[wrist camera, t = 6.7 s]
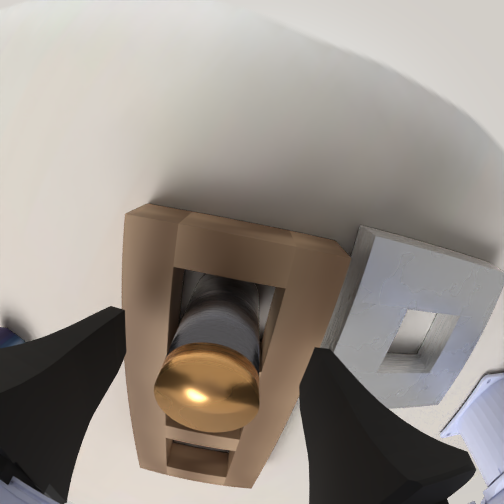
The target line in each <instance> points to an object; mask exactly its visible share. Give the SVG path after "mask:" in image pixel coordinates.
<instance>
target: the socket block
mask: <svg viewBox="0 0 504 504" xmlns="http://www.w3.org/2000/svg"><path fill="white" fill-rule="evenodd" d="M503 286H504V271H503V270H501V269H499V268H498V267H496V266H494V265H493V264H491V263H489V262H487V261H484V260H481V259H478V258H475V257H471V256H468V255H465V254H462V253H459V252H455V251H452V250H449V249H446V248H442V247H439V246H436V245H432V244H429V243H425V242H422V241H418V240H415V239H411V238H408V237H404V236H400V235H397V234H393V233H389V232H386V231H382V230H378V229H374V228H370V227H366V226H362V225H360V227H359V230H358V234H357V237H356V241H355V244H354V248H353V251H352V254H351V261H350V264H349V267H348V270H347V273H346V276H345V279H344V282H343V285H342V288H341V291H340V294H339V297H338V300H337V303H336V306H335V308H334V311H333V314H332V317H331V319H330V322H329V325H328V327H327V330H326V333H325V335H324V338H323V340H322V343H321V346H320V348H326V349H330V350H331V351H332V352H333V353H334V354H335V355H336V356H337V357H338V358H339V359H340V360H341V362H342V363H343V364H344V365H345V366H346V367H347V368H348V370H349V371H350V372H351V373H352V374H353V375H354V376H355V377H356V378H357V379H358V381H359V382H360V383H361V384H362V385H363V386H364V387H365V388H366V389H367V390H368V391H369V392H370V393H371V394H372V395H373V396H374V397H375V398H376V399H378V400H379V401H380V402H381V403H382V404H383V405H384V406H385V407H387V408H388V409H389V408H406V407H419V406H429V405H438V404H439V403H440V401H441V400H442V398H443V397H444V396H445V394H446V393H447V391H448V390H449V388H450V387H451V385H452V384H453V382H454V381H455V379H456V378H457V376H458V375H459V373H460V371H461V370H462V368H463V366H464V365H465V363H466V361H467V360H468V358H469V356H470V355H471V353H472V351H473V349H474V347H475V346H476V344H477V342H478V340H479V338H480V336H481V334H482V332H483V330H484V328H485V326H486V324H487V322H488V320H489V318H490V316H491V314H492V312H493V310H494V307H495V305H496V303H497V300H498V298H499V296H500V293H501V291H502V288H503ZM407 309H411V310H418V311H426V312H433V313H437V315H436V317H435V319H434V321H433V323H432V325H431V327H430V330H429V332H428V334H427V336H426V338H425V340H424V341H423V343H422V345H421V347H420V349H419V351H418V353H417V354H398V353H387V352H388V350H389V348H390V346H391V344H392V342H393V340H394V338H395V335H396V333H397V331H398V329H399V327H400V325H401V323H402V320H403V318H404V316H405V314H406V311H407Z"/></svg>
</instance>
